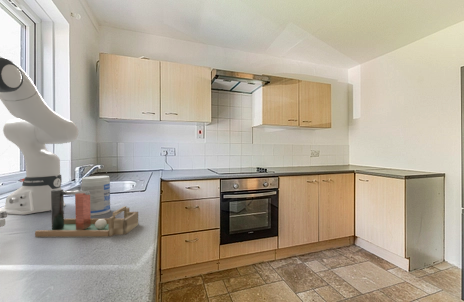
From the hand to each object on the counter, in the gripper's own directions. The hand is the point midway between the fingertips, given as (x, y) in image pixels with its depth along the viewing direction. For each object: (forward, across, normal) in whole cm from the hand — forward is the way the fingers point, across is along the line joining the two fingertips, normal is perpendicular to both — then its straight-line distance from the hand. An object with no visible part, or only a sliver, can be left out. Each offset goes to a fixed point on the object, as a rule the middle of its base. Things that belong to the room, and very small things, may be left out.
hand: (6, 217), depth 59 cm
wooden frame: (+26, -15, +7) cm, 31 cm away
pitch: (+17, -6, +7) cm, 19 cm away
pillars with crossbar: (+14, -3, +6) cm, 15 cm away
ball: (+20, -10, +6) cm, 23 cm away
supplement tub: (+24, +12, +7) cm, 28 cm away
